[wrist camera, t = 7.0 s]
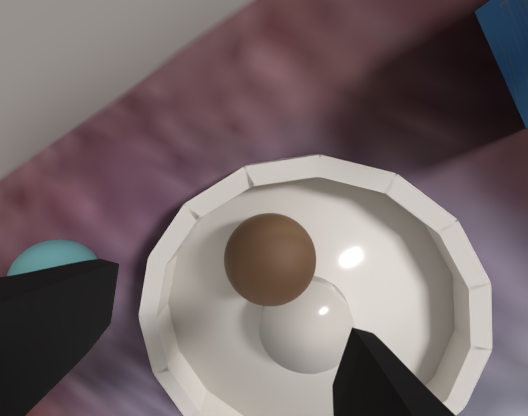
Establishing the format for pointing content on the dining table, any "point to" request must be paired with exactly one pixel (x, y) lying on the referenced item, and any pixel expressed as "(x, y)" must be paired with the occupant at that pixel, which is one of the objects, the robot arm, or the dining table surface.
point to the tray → (351, 252)
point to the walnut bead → (270, 259)
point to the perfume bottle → (509, 45)
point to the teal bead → (50, 256)
